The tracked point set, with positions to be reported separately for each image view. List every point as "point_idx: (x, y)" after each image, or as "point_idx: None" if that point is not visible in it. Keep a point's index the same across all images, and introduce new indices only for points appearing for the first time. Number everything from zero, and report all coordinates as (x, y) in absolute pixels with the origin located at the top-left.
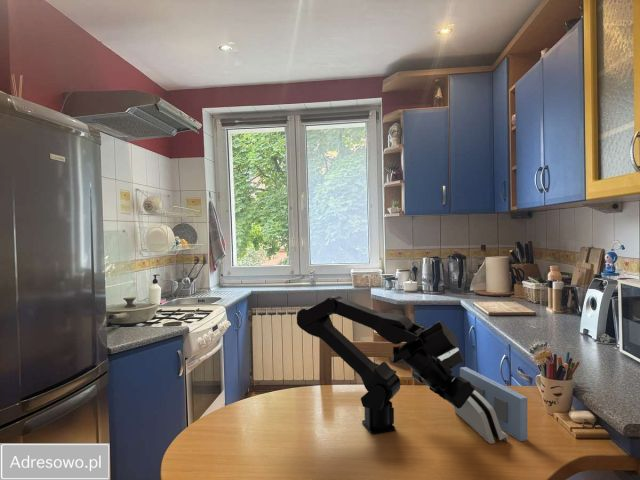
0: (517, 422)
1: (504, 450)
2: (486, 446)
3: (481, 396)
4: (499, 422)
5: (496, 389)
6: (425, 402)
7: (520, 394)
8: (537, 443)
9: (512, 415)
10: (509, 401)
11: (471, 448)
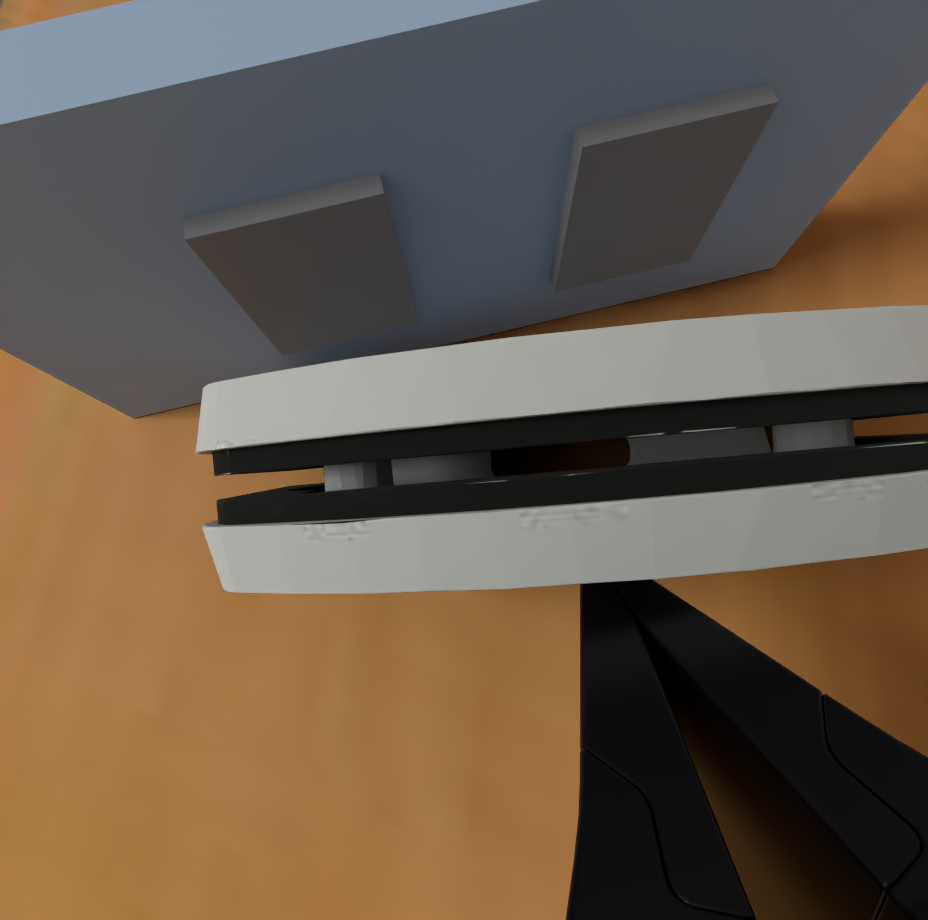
0: (814, 182)
1: (907, 426)
2: None
3: (834, 322)
4: (588, 290)
5: (608, 33)
6: (37, 738)
7: None
8: None
9: (779, 165)
10: (814, 52)
11: (904, 666)
